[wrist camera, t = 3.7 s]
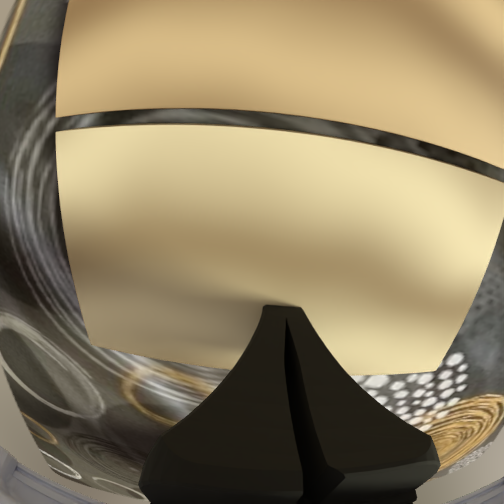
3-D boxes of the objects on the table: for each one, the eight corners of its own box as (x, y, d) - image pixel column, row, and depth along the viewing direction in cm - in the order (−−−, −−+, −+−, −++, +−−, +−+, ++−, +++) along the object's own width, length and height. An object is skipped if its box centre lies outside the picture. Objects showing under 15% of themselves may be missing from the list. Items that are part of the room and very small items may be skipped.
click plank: (425, 350, 13) (435, 370, 11) (104, 324, 13) (91, 344, 12) (488, 176, 9) (511, 185, 8) (79, 127, 9) (55, 132, 8)
